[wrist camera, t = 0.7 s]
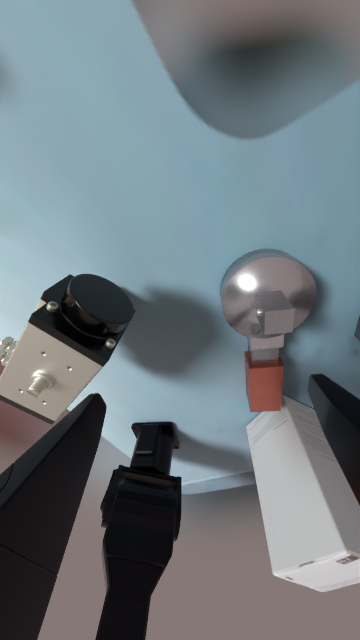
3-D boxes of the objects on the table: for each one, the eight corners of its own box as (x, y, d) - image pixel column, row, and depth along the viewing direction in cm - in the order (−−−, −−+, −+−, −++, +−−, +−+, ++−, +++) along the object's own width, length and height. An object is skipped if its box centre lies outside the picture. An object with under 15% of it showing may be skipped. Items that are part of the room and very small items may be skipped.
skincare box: (276, 437, 33) (322, 594, 20) (242, 423, 32) (269, 579, 19) (319, 407, 29) (411, 581, 16) (281, 390, 28) (348, 561, 15)
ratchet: (291, 393, 28) (311, 440, 23) (230, 396, 29) (236, 441, 24) (307, 242, 18) (347, 263, 13) (216, 256, 20) (221, 280, 15)
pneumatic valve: (156, 277, 21) (113, 360, 11) (100, 347, 27) (36, 446, 16) (107, 239, 20) (5, 294, 10) (58, 320, 25) (-41, 412, 15)
